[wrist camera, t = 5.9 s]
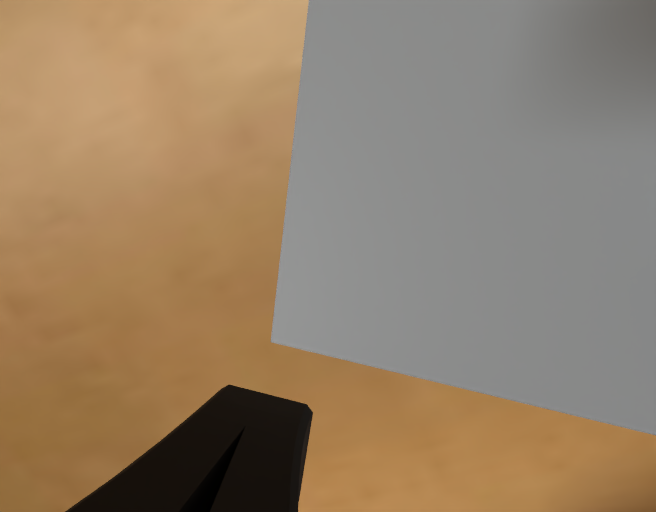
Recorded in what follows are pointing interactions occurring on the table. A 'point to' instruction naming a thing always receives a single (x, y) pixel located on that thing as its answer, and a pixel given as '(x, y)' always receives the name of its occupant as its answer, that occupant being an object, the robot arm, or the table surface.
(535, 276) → the door panel
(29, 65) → the table surface
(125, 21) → the table surface
